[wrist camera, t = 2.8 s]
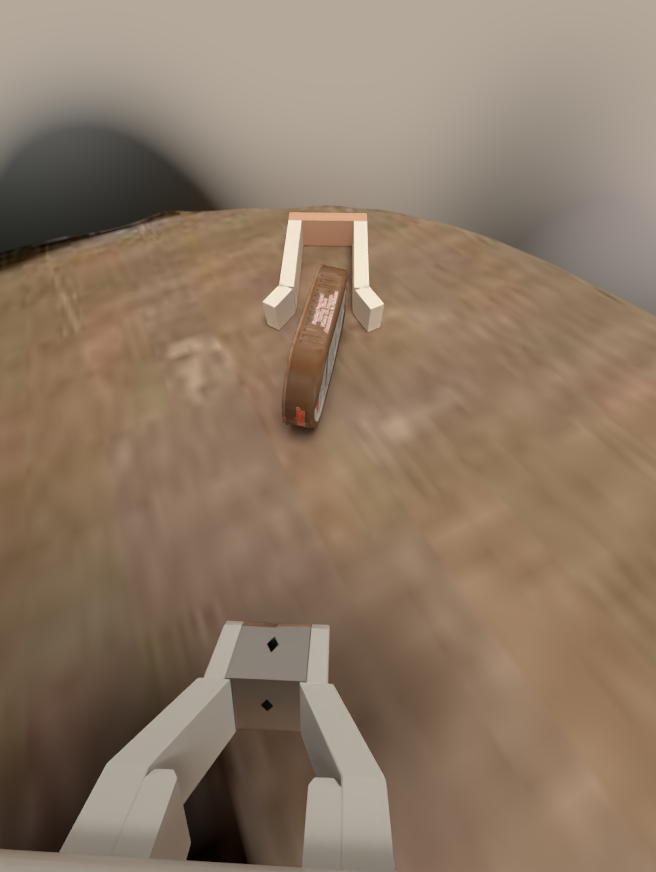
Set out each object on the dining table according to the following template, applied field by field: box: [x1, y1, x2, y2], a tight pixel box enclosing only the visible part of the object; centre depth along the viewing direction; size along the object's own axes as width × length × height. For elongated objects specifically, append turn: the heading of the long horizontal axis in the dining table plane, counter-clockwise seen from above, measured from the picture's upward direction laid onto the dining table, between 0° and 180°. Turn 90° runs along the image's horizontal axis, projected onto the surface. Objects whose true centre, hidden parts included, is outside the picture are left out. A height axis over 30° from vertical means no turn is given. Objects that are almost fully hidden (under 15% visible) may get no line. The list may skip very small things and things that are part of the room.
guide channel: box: [262, 212, 384, 332], centre depth 36 cm, size 12×16×3 cm
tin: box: [282, 264, 350, 428], centre depth 28 cm, size 15×3×8 cm, turn 168°
